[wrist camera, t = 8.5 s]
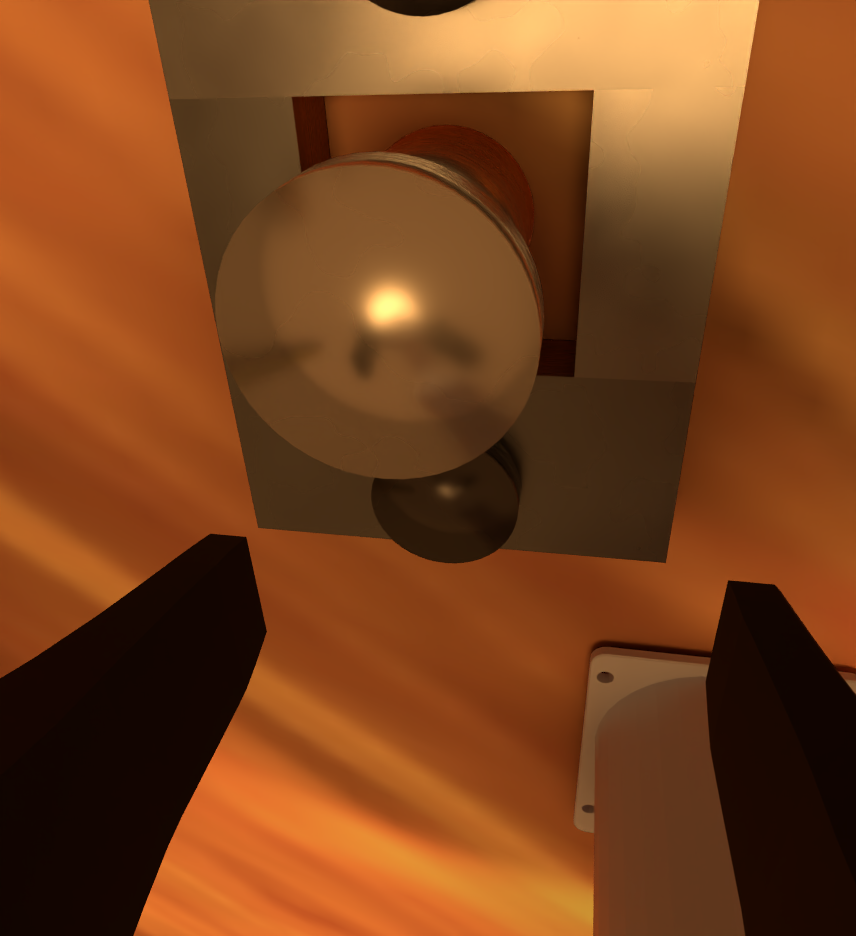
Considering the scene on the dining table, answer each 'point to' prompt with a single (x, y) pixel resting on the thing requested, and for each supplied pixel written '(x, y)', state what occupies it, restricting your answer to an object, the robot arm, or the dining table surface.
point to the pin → (388, 305)
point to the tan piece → (604, 247)
